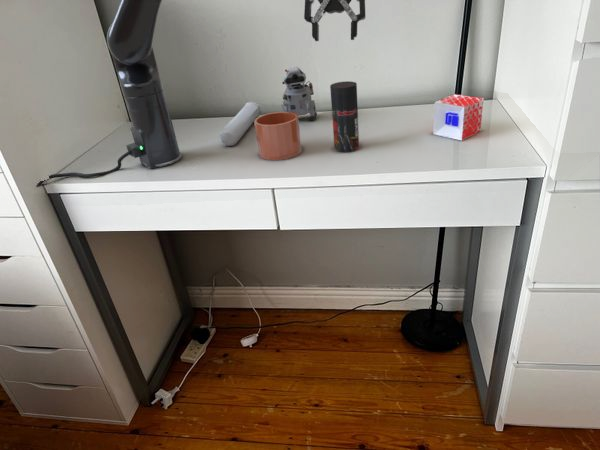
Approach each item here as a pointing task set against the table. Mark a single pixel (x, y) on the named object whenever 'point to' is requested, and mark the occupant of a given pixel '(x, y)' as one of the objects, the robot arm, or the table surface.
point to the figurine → (298, 94)
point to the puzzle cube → (458, 116)
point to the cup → (278, 135)
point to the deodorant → (345, 116)
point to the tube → (240, 124)
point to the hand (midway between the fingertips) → (334, 40)
